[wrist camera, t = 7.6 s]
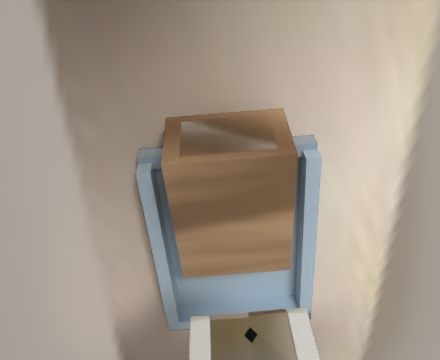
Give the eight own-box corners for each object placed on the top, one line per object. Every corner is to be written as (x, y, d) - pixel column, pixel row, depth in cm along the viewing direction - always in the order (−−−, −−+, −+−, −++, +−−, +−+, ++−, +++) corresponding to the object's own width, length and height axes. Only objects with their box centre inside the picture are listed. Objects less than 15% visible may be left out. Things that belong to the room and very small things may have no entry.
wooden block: (160, 164, 18) (183, 278, 23) (297, 153, 18) (290, 269, 23) (165, 117, 21) (184, 227, 26) (282, 108, 21) (278, 219, 26)
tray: (138, 149, 24) (133, 167, 22) (313, 134, 23) (321, 151, 22) (170, 308, 31) (169, 330, 29) (304, 297, 31) (310, 319, 29)
